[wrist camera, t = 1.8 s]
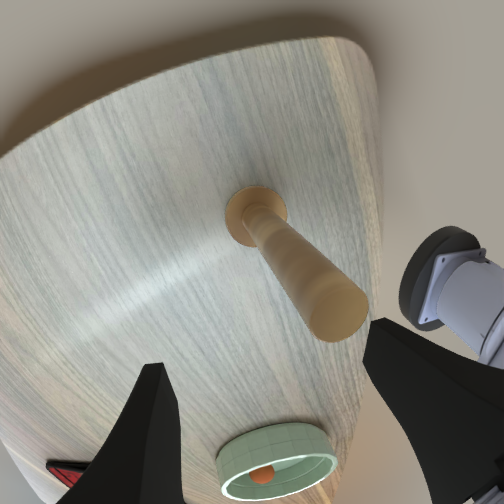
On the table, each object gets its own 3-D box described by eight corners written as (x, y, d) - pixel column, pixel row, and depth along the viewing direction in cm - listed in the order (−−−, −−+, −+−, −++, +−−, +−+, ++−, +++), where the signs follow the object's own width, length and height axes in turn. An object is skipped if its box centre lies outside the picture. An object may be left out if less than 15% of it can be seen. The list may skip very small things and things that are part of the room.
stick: (284, 184, 17) (405, 248, 7) (283, 242, 19) (380, 353, 9) (223, 186, 17) (279, 260, 7) (225, 246, 18) (273, 377, 8)
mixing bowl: (333, 409, 28) (350, 440, 24) (315, 460, 33) (325, 485, 29) (209, 432, 25) (215, 469, 21) (220, 478, 31) (226, 506, 26)
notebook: (138, 477, 24) (194, 518, 33) (139, 461, 26) (193, 507, 35) (37, 467, 22) (111, 515, 31) (41, 454, 25) (112, 505, 33)
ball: (271, 455, 29) (278, 475, 26) (270, 465, 30) (276, 484, 27) (246, 460, 28) (251, 480, 25) (247, 469, 29) (252, 488, 27)
